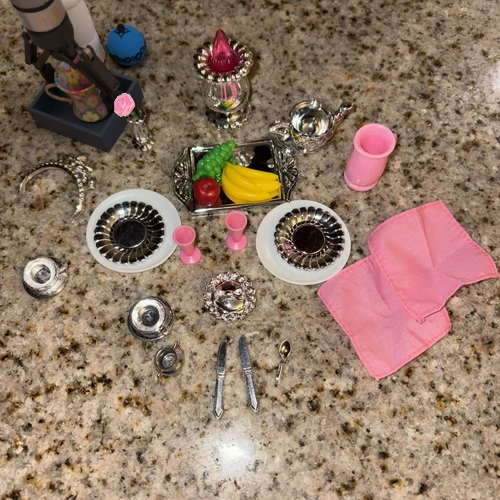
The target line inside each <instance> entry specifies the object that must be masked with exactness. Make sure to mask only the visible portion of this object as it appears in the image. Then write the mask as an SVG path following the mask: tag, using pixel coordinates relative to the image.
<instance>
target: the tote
mask: <svg viewBox="0 0 500 500" xmlns="http://www.w3.org/2000/svg"><path fill="white" fill-rule="evenodd" d="M62 62H63V61H61V62H60V63H59V64H58V66H59V65H60V64H61V63H62ZM56 69H57V67H56ZM56 69H54V70H55V71H56ZM108 70H109V71H110V72H111V73H112V74H113V76H114V77H115V78H116V79H117V80H118V82H119V83H120V84H121V86H120V88H119V89H118V91H117V92H116V96H119V95H121V94H122V93H127V94H130V95H131V97H132V98H133V99H134V100H135V101H136V103H137V104H139V106H140V105H141V103H142V102H143V100H144V98H145V96H144V93H143V90H142V85H141V83H140V80H139V79H137V78H134V77H132V76H130V75H126V74H124V73H120V72H117V71H115V70H112V69H109V68H108ZM47 85H48V84H47V83H46V82H45V84H44V85H43V87H42V88H41V89H40V90H39V92H38V93H37V95H36V96H35V98H34V99H33V100H32V101H31V103H30V104H29V106H28V107H27V108H26V111H27V112H28V115H30V117H31V118H32V119H33V121H34V122H35V124H36V125H37V126H38V127H39V126H40V128H42V127H43V128H42V129H45V130H47V129H48V131H50V132H52V133H55V134H58V135H60V136H64V137H66V138H68V139H72V140H74V141H76V142H79V143H81V144H83V145H84V144H85V145H87V146H89V147H93V148H95V149H98V150H100V151H103V152H106V153H108V154H110V152H111V151H112V150H113V147H115V144H116V143H117V142H118V139H119V138H120V137H121V135H122V133H123V132H124V130H125V128H126V127H127V125H128V124H129V122H127V120H126V118H125V117H120V116H118V115H117V114H116V113H115V112H113V114H112V115H110V114H108V115H107V116H106V117H105V118H103V119H101V120H99V121H95V122H86V121H83V120H81V119H79V118H78V117H77V116H76V115H75V113H74V110H73V102H72V104H71V105H70V104H69V102H68V101H61V100H57V99H55V98H52V97H51V96H49V95H48V94H47V93H46V90H45V88H46V86H47ZM48 92H50V93H51V94H53V93H52V91H51V89H50V88H49V89H48ZM53 95H55V94H53ZM55 96H58V97H62V98H70V99H71V97H70V96H69V95H68V94H67V93H66V92H64V91H62V90H61V89H60V90H59V91H58V93H57V94H56V95H55Z"/></svg>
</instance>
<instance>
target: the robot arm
mask: <svg viewBox="0 0 500 500" xmlns="http://www.w3.org/2000/svg"><path fill="white" fill-rule="evenodd" d="M9 2H10V4H11V6H12V8H13V10H14V12H15V13H16V15H17V16H18V19H19V20H20V23H21V24H22V26H24V30H23V31H22V32H21V34H20V36H21V38H22V40H23V42H24V44H23V46H24V47H23V48H24V62H25V64H26V65H28V66H34V69H35V70H37V71H38V72H39V74H40V75H41V77H42V78H43V79H44V81H45V84H46V83H47V84H48V85H49V84H53V83H55V80H54V74H55V70H56V69H55V68H54V66H53V64H52V63H51V62H48V60H49V58H50V57H52V58H54V60H56V61H59V62H60V61H61V62H62V61H63V62H65V63H67V64H68V65H69V66H71V67H72V68H73V69H74V70H79V71H80V72H81V73H82V74H83V75H84V76H85V77H86V78H87V79H88V80H90V81H91V82H92V83H93V84H94V85H95V86H96V87H97V88H98V89H99V90H101V92H100V95H101V98H102V100H103V102H104V104H105V106H106V109H107V111H108V113H109V114H110V115H112V114H113V112H114V101H115V99H116V98H117V96H116V92H117V91H118V89H119V88H120V86H121V84H120V83H119V82H118V80H117V79H116V78H115V77H114V76H113V74H112V73H111V72H110V71H109V70H110V69H109V68H108V67H107V66H106V64H105V63H104V62H102V61H101V60H100V59H99V57H98V56H97V55H96V53H95V51H94V49H93V47H92V46H90V45H87V46H86V47H85V48H84V47H80V46H79V45H78V44H77V42H76V41H75V40H74V28H73V25H72V23H71V21H70V18H69V16H68V14H67V12H66V10H65V8H64V5H63V3H62V1H61V0H9ZM38 48H39V49H41V50H43V51H42V52H41V54H40V56H38ZM77 55H79V56H80V58H79V59H78V61H77V62H76V64H75V63H74V62H73V61H74V60H75V58H76V57H77ZM108 69H109V70H108ZM50 89H51V91H52V93H53V94H55V95H56V94H57V93H58V91H59V90H60V88H58V87H51V88H50Z"/></svg>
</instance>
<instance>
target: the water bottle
mask: <svg viewBox="0 0 500 500" xmlns="http://www.w3.org/2000/svg"><path fill="white" fill-rule="evenodd" d="M61 1H62V3H63V5H64V8H65V10H66V12H67V14H68V16H69V18H70V21H71V23H72V25H73V28H74V40H75V41H76V42H77V44H78V45H79V46H80V47H84V48H85V47H86V46H87V45H90V46H92V47H93V49H94V51H95V53H96V55H97V56H98V57H99V59H100V60H101V61H102V62H103V63H104V62H105V61H106V52H105V49H104V47H103V45H102V43H101V39H100V37H99V34H98V33H97V31H96V29H95V26H94V22H93V19H92V17H91V14H90V11H89V9H88V6H87V4H86V2H85V0H61ZM77 56H79V55H77ZM104 60H105V61H104Z"/></svg>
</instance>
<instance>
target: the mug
mask: <svg viewBox="0 0 500 500" xmlns="http://www.w3.org/2000/svg"><path fill="white" fill-rule="evenodd" d="M79 58H80V56H77V57H76V58H75V60H74V61H73V62H74V63H75V64H76V62H77V61H78V59H79ZM61 62H62V61H61ZM61 62H60V63H61ZM60 63H59V64H60ZM59 64H58V65H57V67H56V68H57V69H55V70H56V71H55V74H54V80H55V83H53V84H49V85H47V86H46V88H45V90H46V93H47V94H48V95H49V96H51V97H52V98H55V99H57V100H61V101H68V102H69V104H70V105H71V104H72V102H73V110H74V113H75V115H76V116H77V117H78V118H79V119H81V120H83V121H86V122H95V121H99V120H101V119H103V118H105V117H106V116H107V115H108V114H109V113H108V111H107V109H106V106H105V104H104V102H103V100H102V98H101V95H100V92H101V90H99V89H98V88H97V87H96V86H95V85H94V84H93V83H92V82H91V81H90V80H88V79H87V78H86V77H85V76H84V75H83V74H82V73H81V72H80V71H79V70H74V69H73V68H72V67H71V66H69V65H68V64H67V63H65V62H62V63H61V64H60V65H59ZM51 87H58V88H60V89H61V90H62V91H64V92H66V93H67V94H68V95H69V96H70V97H71V99H70V98H62V97H58V96H55V95H53V94H51V93H50V92H48V89H49V88H51Z"/></svg>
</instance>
